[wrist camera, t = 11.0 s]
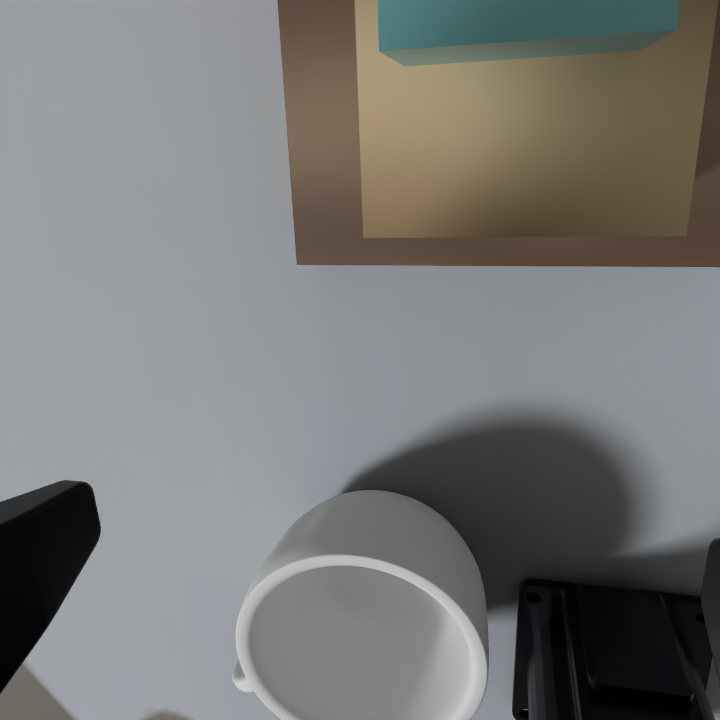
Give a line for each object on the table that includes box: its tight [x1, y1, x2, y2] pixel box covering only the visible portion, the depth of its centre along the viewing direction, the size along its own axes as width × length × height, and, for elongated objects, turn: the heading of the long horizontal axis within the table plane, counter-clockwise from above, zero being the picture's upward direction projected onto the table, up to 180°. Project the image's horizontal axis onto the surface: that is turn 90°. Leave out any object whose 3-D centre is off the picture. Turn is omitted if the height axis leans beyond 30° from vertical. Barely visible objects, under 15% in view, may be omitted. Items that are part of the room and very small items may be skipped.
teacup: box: [232, 490, 489, 720], centre depth 22 cm, size 10×8×5 cm
